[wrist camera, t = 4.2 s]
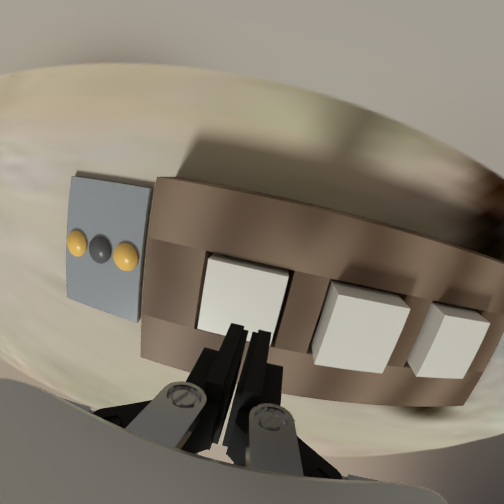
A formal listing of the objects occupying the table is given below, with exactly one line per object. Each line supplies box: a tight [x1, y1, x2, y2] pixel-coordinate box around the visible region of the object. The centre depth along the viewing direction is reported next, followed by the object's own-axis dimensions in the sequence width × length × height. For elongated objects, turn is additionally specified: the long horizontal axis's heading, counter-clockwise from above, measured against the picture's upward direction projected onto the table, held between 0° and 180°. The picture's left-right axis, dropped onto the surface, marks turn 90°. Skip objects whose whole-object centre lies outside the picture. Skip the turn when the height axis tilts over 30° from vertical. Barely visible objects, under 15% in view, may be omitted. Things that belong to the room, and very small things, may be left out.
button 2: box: [197, 253, 289, 345], centre depth 18 cm, size 4×4×2 cm
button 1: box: [407, 302, 490, 379], centre depth 16 cm, size 4×4×2 cm
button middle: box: [311, 281, 410, 374], centre depth 16 cm, size 4×4×2 cm
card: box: [66, 176, 152, 322], centre depth 20 cm, size 7×10×1 cm
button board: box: [141, 177, 504, 406], centre depth 18 cm, size 26×12×3 cm, turn 79°
